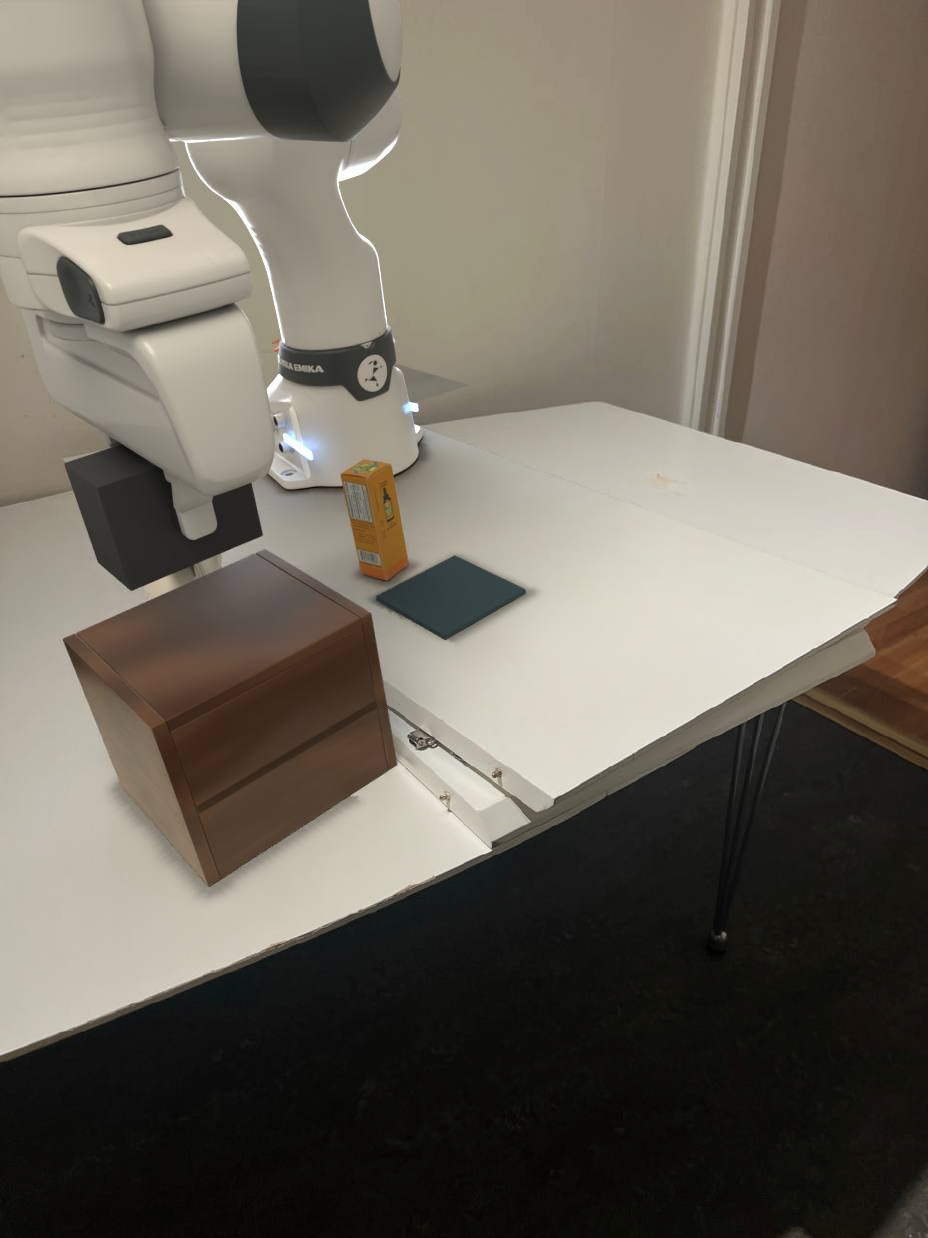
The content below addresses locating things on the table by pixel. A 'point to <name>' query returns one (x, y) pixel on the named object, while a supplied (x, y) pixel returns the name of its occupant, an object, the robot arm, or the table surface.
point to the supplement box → (375, 518)
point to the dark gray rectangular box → (149, 517)
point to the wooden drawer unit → (238, 707)
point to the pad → (450, 596)
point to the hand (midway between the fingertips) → (173, 515)
